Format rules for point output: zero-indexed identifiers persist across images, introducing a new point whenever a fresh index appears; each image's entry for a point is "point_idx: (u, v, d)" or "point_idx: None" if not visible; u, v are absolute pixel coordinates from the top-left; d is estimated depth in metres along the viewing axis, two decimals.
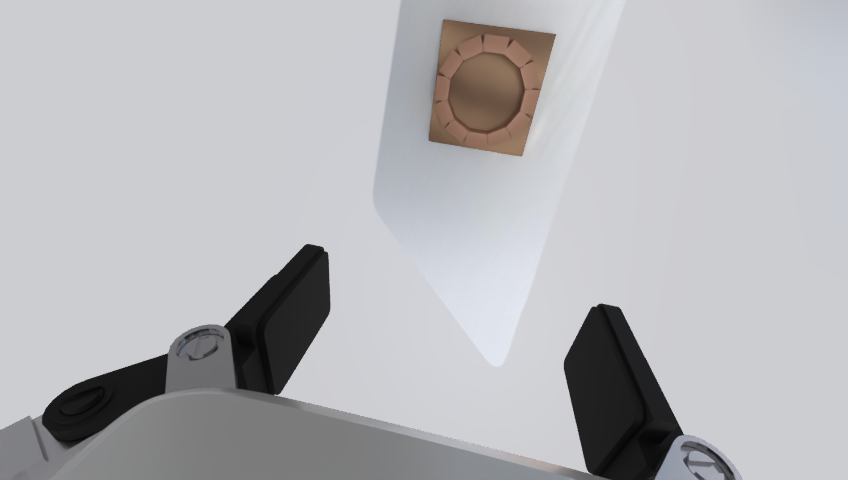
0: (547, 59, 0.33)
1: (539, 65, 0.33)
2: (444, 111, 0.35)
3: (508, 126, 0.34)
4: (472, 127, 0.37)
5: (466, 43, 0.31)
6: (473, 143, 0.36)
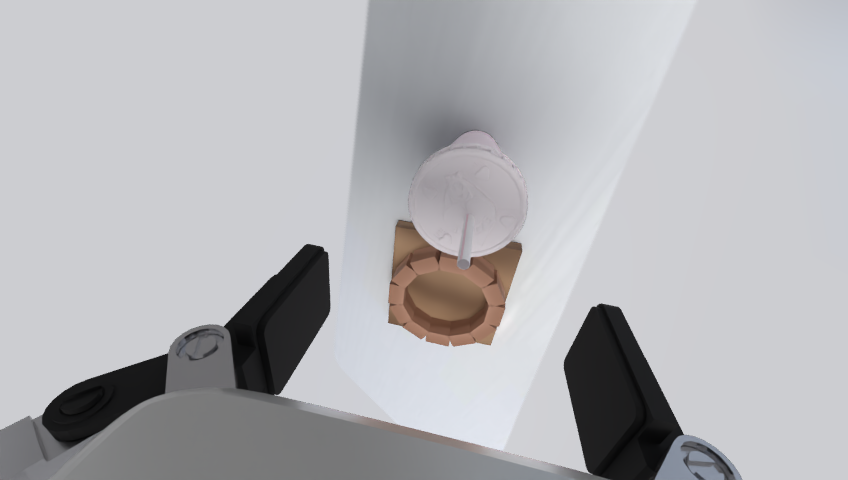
0: (513, 270, 0.29)
1: (505, 275, 0.29)
2: (400, 313, 0.31)
3: (472, 332, 0.31)
4: (434, 317, 0.33)
5: (420, 261, 0.28)
6: (434, 341, 0.32)
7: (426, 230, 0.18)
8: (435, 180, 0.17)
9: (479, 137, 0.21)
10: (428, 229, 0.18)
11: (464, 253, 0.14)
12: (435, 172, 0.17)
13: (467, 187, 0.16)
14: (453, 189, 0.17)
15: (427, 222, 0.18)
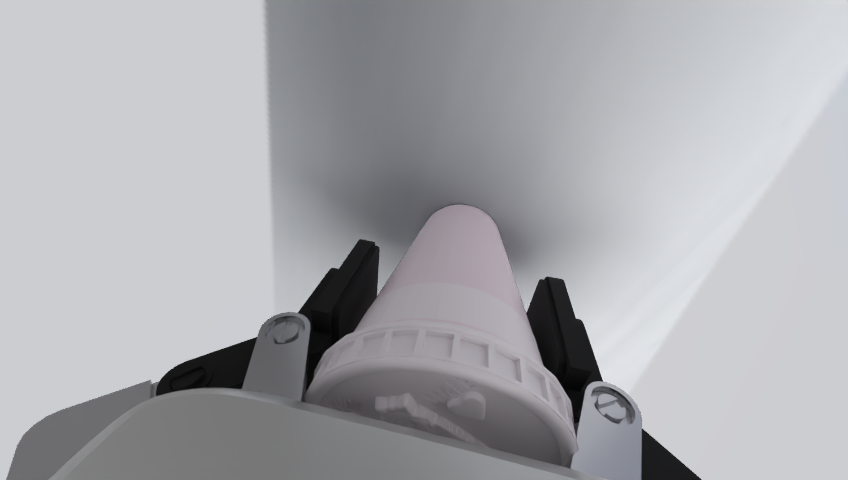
0: None
1: None
2: None
3: None
4: None
5: None
6: None
7: None
8: (354, 401, 0.07)
9: (465, 239, 0.11)
10: None
11: None
12: (352, 389, 0.07)
13: (430, 429, 0.07)
14: None
15: None
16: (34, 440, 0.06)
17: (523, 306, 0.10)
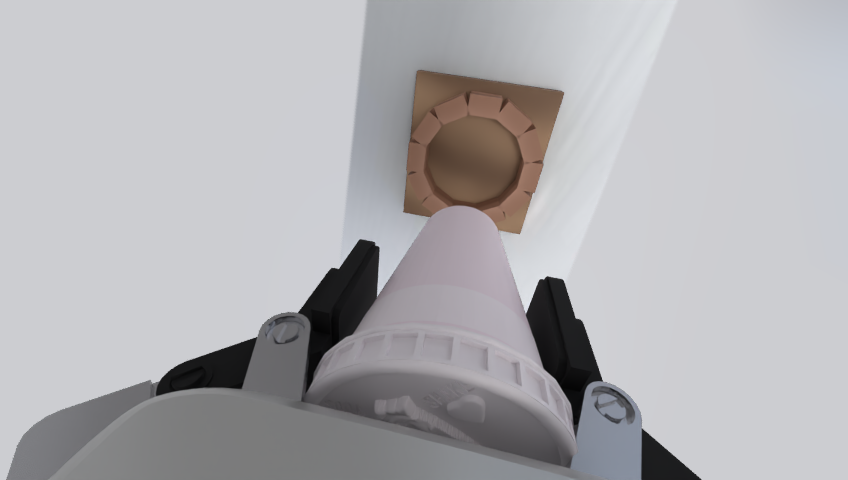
0: (552, 122, 0.25)
1: (542, 130, 0.25)
2: (420, 184, 0.27)
3: (502, 204, 0.27)
4: (457, 199, 0.29)
5: (445, 104, 0.24)
6: None
7: None
8: (354, 404, 0.07)
9: (465, 241, 0.11)
10: None
11: None
12: (351, 392, 0.07)
13: (430, 432, 0.07)
14: None
15: None
16: (34, 440, 0.06)
17: (523, 308, 0.10)
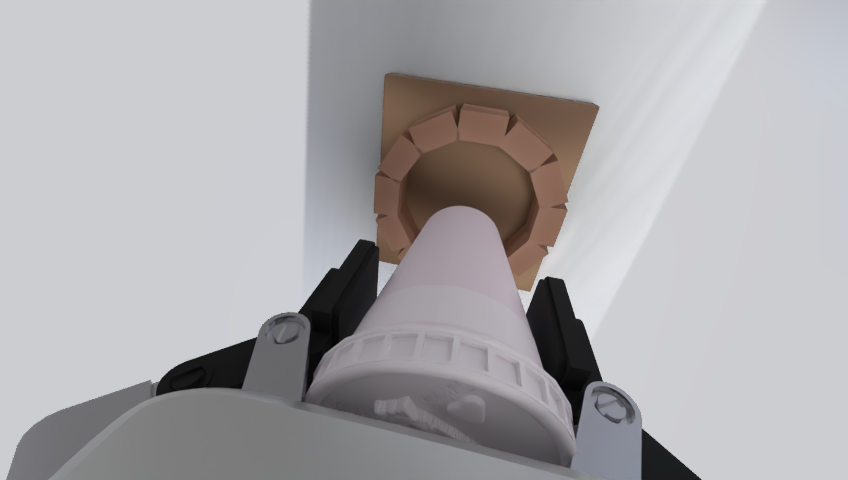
0: (580, 149, 0.17)
1: (565, 159, 0.18)
2: (393, 231, 0.20)
3: None
4: None
5: (425, 124, 0.16)
6: None
7: None
8: (353, 404, 0.07)
9: (465, 241, 0.11)
10: None
11: None
12: (351, 392, 0.07)
13: (430, 432, 0.07)
14: None
15: None
16: (34, 440, 0.06)
17: (523, 308, 0.10)
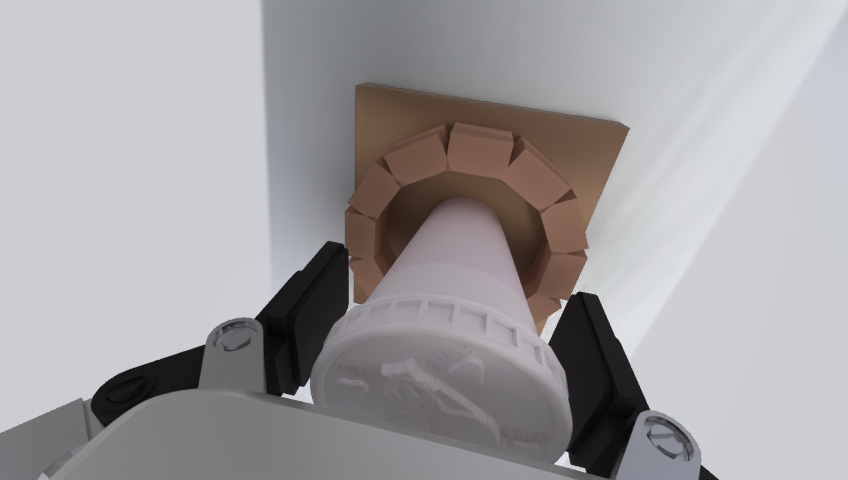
0: (603, 180, 0.14)
1: (584, 191, 0.14)
2: (370, 276, 0.16)
3: None
4: None
5: (405, 151, 0.13)
6: None
7: None
8: (361, 368, 0.07)
9: (467, 227, 0.12)
10: None
11: None
12: (359, 356, 0.07)
13: (432, 394, 0.07)
14: (401, 394, 0.07)
15: None
16: None
17: (522, 289, 0.10)
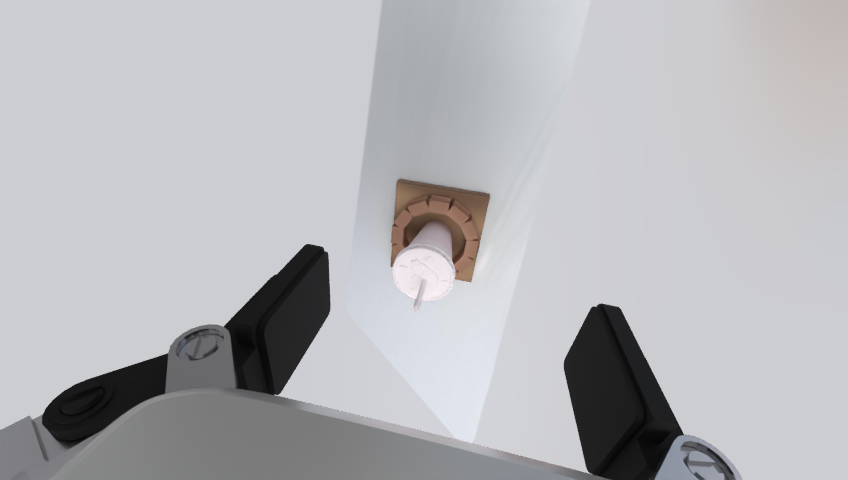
0: (484, 214, 0.39)
1: (478, 218, 0.39)
2: (400, 251, 0.41)
3: (455, 265, 0.40)
4: None
5: (414, 205, 0.38)
6: None
7: (402, 286, 0.34)
8: (405, 262, 0.32)
9: (434, 230, 0.36)
10: (403, 286, 0.34)
11: (416, 303, 0.29)
12: (405, 258, 0.32)
13: (422, 266, 0.32)
14: (415, 267, 0.32)
15: (402, 282, 0.33)
16: None
17: (449, 248, 0.35)
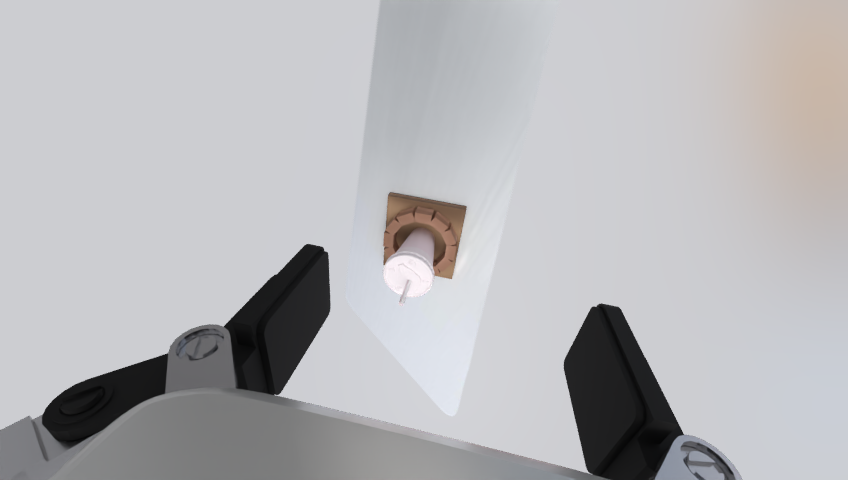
0: (462, 223, 0.46)
1: (457, 226, 0.46)
2: (391, 253, 0.48)
3: (437, 265, 0.48)
4: None
5: (402, 216, 0.45)
6: None
7: (391, 285, 0.41)
8: (394, 265, 0.39)
9: (419, 238, 0.44)
10: (392, 285, 0.41)
11: (401, 300, 0.37)
12: (393, 263, 0.39)
13: (407, 269, 0.39)
14: (401, 270, 0.39)
15: (391, 282, 0.41)
16: None
17: (431, 253, 0.42)
